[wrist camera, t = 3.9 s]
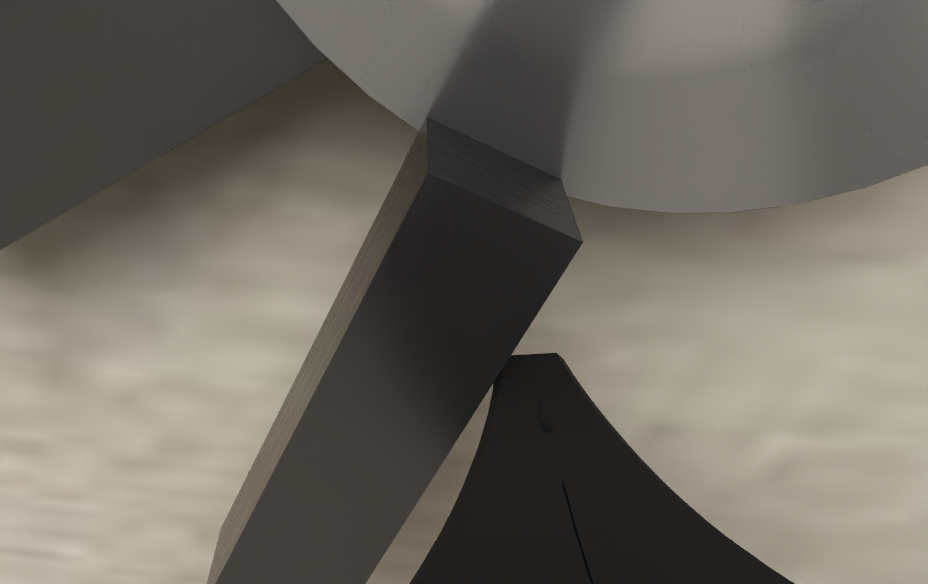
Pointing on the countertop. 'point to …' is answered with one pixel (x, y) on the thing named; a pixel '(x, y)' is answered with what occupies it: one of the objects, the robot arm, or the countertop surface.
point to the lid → (541, 210)
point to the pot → (124, 89)
